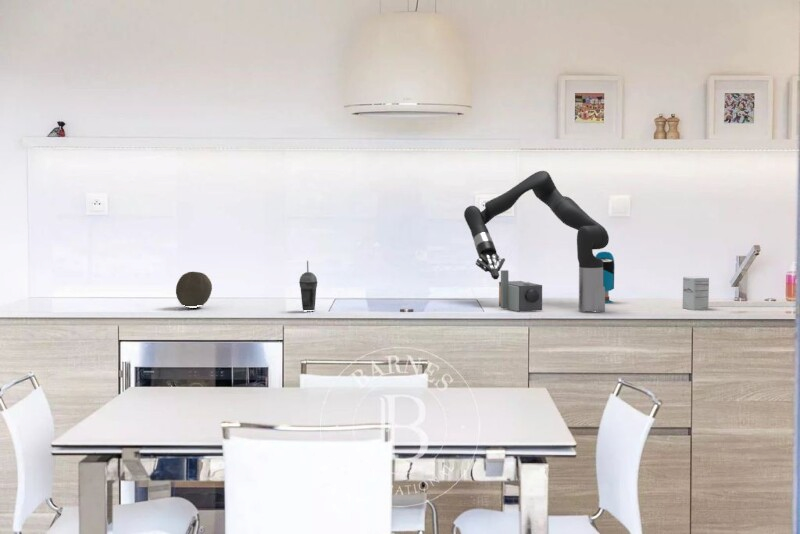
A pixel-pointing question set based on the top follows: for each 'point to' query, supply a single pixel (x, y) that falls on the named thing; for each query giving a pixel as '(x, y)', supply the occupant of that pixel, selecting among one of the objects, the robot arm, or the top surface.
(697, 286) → the supplement box
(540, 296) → the block
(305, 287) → the beverage cup
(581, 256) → the robot arm
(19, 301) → the top surface
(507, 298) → the side door
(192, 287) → the dark brown ball
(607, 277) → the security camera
